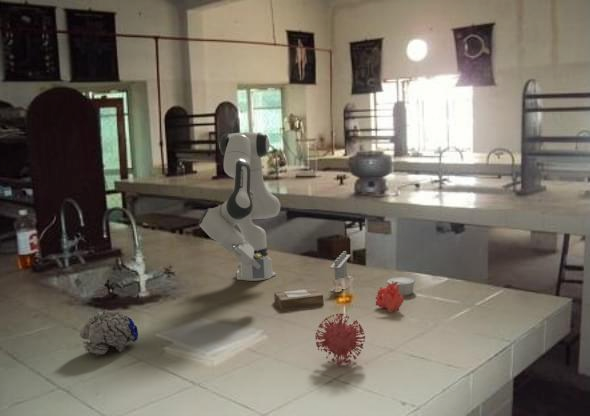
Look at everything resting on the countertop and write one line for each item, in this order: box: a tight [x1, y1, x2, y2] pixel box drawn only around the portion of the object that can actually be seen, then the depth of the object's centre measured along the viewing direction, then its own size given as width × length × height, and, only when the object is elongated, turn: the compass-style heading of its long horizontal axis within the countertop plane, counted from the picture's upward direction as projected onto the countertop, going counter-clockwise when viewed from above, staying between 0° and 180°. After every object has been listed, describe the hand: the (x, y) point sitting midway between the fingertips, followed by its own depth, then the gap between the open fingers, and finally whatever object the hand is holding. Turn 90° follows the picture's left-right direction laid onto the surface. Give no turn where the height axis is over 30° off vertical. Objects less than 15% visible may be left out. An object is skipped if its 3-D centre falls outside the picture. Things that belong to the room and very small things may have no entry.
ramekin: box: [386, 276, 415, 297], centre depth 260 cm, size 11×11×5 cm
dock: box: [273, 287, 325, 311], centre depth 251 cm, size 12×17×4 cm
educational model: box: [79, 309, 139, 356], centre depth 208 cm, size 14×20×15 cm
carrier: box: [252, 256, 265, 278], centre depth 246 cm, size 6×4×8 cm
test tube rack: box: [329, 250, 353, 293], centre depth 276 cm, size 25×4×13 cm, turn 164°
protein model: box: [375, 282, 405, 314], centre depth 238 cm, size 9×12×12 cm
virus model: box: [314, 313, 366, 365], centre depth 188 cm, size 15×15×15 cm
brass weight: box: [254, 254, 261, 259], centre depth 245 cm, size 3×3×2 cm
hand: (259, 265), depth 246 cm, fingers closed on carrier, 5 cm apart
